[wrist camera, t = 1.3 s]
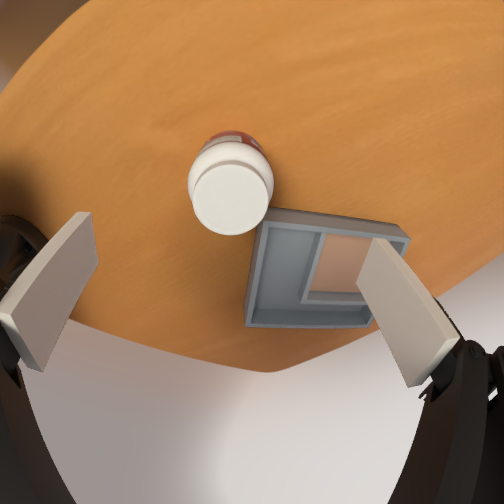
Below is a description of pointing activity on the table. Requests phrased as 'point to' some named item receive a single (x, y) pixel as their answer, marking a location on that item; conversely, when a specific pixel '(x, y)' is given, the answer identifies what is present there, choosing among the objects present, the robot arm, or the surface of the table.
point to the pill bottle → (230, 183)
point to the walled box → (312, 269)
